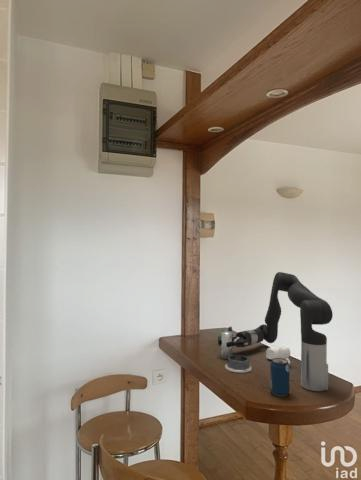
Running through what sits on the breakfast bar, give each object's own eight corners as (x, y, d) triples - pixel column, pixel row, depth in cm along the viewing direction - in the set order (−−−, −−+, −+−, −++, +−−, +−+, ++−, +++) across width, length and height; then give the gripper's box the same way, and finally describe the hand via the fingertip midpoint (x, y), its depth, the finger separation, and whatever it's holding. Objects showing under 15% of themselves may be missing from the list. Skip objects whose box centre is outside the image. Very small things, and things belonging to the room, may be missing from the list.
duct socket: (250, 364, 160) (250, 354, 160) (252, 373, 148) (252, 363, 148) (224, 363, 161) (225, 353, 161) (225, 372, 150) (225, 361, 150)
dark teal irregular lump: (231, 342, 197) (231, 326, 197) (236, 346, 188) (236, 330, 188) (216, 342, 195) (216, 326, 196) (220, 347, 186) (220, 330, 187)
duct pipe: (231, 356, 171) (231, 331, 171) (231, 359, 166) (232, 333, 166) (221, 355, 172) (221, 331, 172) (221, 358, 167) (221, 333, 167)
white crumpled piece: (265, 366, 167) (280, 363, 154) (262, 347, 171) (277, 343, 157) (281, 364, 170) (297, 362, 156) (278, 346, 173) (294, 342, 159)
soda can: (293, 394, 128) (293, 361, 128) (280, 398, 124) (280, 364, 125) (278, 387, 134) (279, 356, 134) (265, 391, 130) (266, 359, 130)
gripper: (236, 328, 184) (212, 332, 173) (257, 333, 172) (233, 339, 162) (236, 342, 184) (212, 348, 173) (257, 349, 172) (233, 355, 162)
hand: (222, 343), depth 168 cm, fingers closed on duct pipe, 5 cm apart
